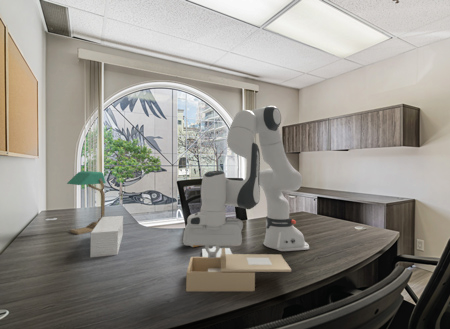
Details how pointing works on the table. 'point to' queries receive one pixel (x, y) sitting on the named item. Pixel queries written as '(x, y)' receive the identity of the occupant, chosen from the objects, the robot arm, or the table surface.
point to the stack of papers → (107, 236)
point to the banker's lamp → (89, 179)
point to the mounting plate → (205, 254)
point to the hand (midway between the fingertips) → (212, 257)
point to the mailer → (216, 277)
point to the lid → (253, 263)
